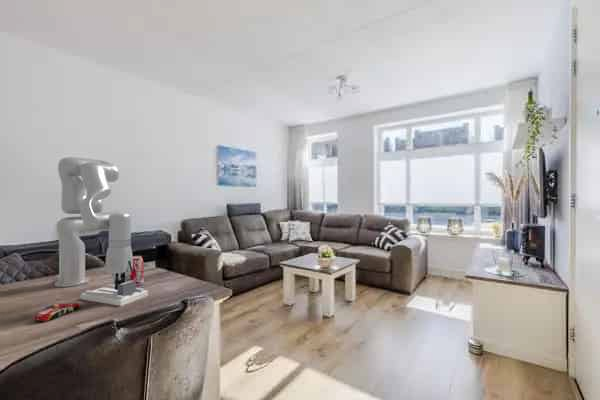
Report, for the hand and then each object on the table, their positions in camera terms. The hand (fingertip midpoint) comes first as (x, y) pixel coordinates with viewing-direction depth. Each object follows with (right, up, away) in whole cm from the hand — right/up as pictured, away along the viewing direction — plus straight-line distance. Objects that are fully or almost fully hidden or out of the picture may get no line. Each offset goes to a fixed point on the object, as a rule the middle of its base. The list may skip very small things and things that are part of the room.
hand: (120, 288), depth 113 cm
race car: (-11, -4, -16) cm, 20 cm away
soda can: (-4, -4, +17) cm, 18 cm away
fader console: (-3, -4, +1) cm, 5 cm away
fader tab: (+4, -2, -1) cm, 4 cm away
